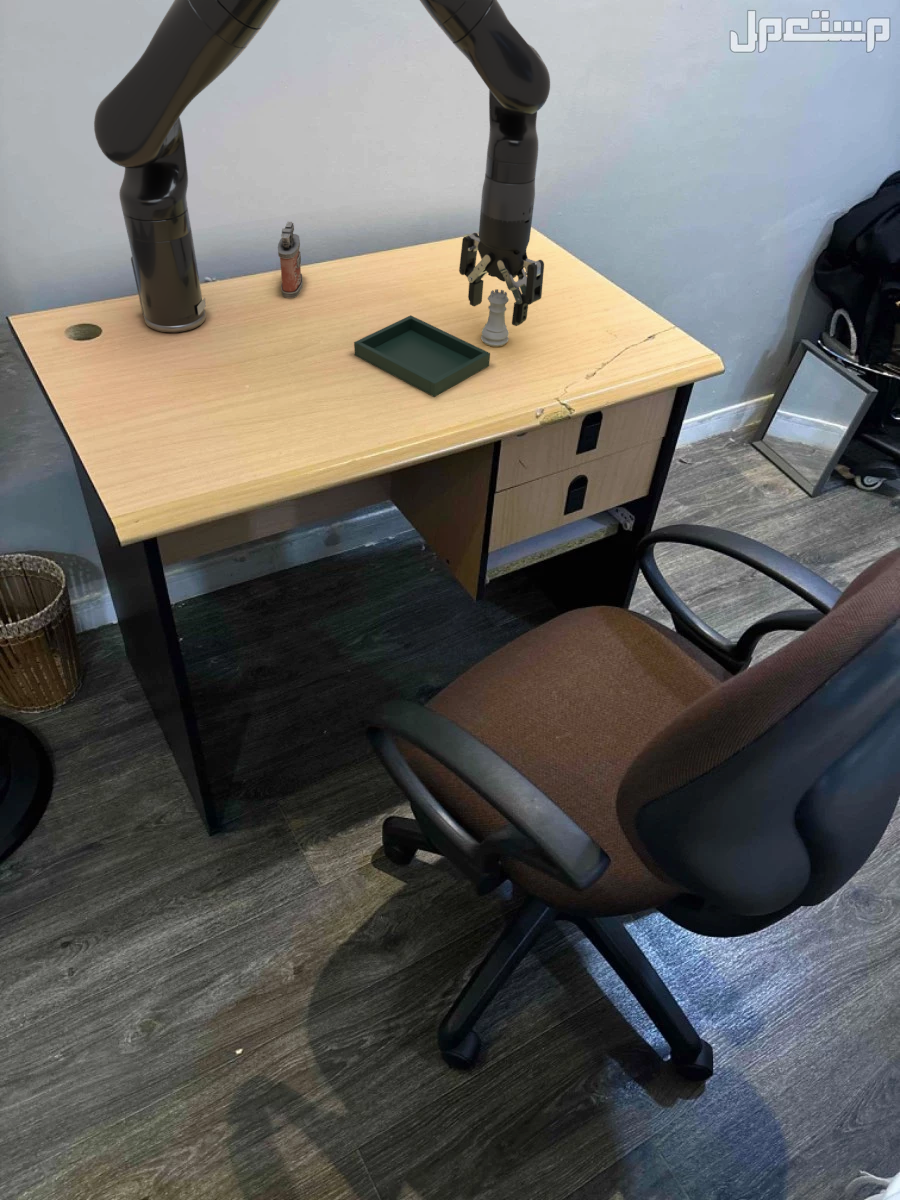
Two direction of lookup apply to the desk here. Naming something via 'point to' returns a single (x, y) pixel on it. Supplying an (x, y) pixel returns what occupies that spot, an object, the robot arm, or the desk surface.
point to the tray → (422, 355)
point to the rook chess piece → (496, 320)
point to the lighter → (290, 262)
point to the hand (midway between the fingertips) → (496, 314)
